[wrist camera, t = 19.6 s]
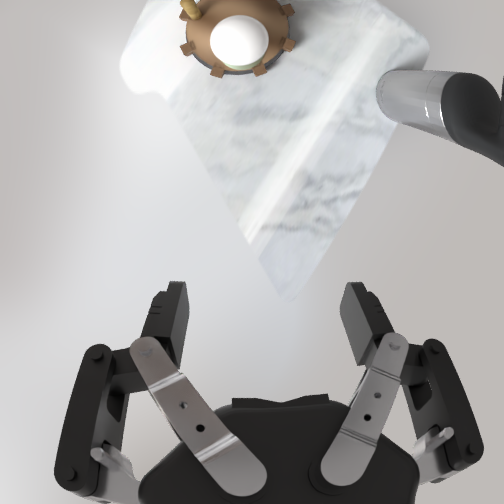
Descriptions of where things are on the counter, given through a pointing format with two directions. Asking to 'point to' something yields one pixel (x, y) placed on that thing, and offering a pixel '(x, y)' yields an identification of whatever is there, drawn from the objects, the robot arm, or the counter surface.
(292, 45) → the sprocket
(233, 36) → the lightbulb
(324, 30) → the counter surface
